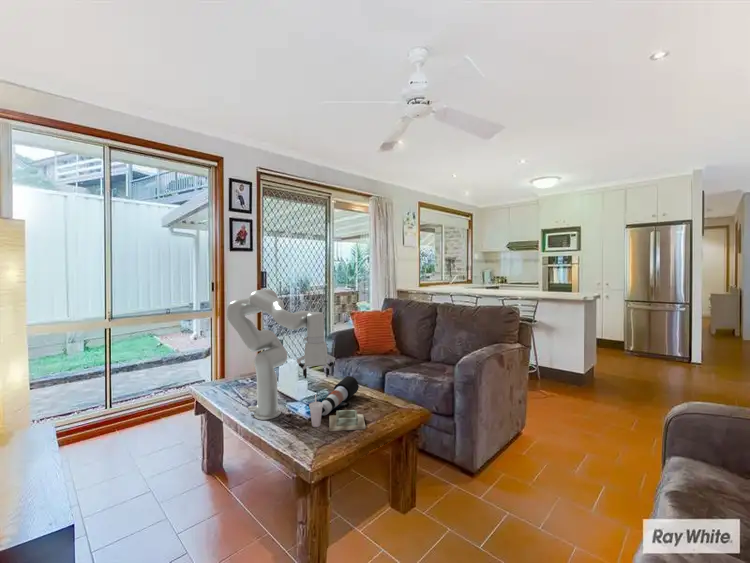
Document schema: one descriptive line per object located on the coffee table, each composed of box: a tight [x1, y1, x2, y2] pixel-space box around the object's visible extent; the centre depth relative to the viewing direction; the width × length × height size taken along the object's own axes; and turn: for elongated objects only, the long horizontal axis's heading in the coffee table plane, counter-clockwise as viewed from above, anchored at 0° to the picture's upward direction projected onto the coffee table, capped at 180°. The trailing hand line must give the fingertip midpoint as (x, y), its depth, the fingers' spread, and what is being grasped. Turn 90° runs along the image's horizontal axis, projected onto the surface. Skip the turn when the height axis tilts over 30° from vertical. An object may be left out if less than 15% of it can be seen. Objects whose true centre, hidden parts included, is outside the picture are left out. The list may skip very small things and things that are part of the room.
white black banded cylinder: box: [320, 375, 360, 416], centre depth 183 cm, size 10×34×10 cm, turn 156°
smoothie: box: [308, 394, 323, 428], centre depth 162 cm, size 6×6×14 cm
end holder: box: [328, 409, 366, 432], centre depth 164 cm, size 16×13×4 cm
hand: (316, 377), depth 161 cm, fingers open, 9 cm apart
